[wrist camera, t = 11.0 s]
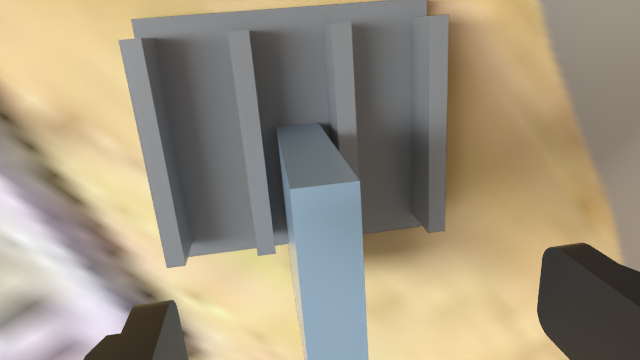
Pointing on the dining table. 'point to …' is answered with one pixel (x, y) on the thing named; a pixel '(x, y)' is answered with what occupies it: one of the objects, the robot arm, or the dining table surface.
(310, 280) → the rectangular block
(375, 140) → the dish rack
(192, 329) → the dining table surface
